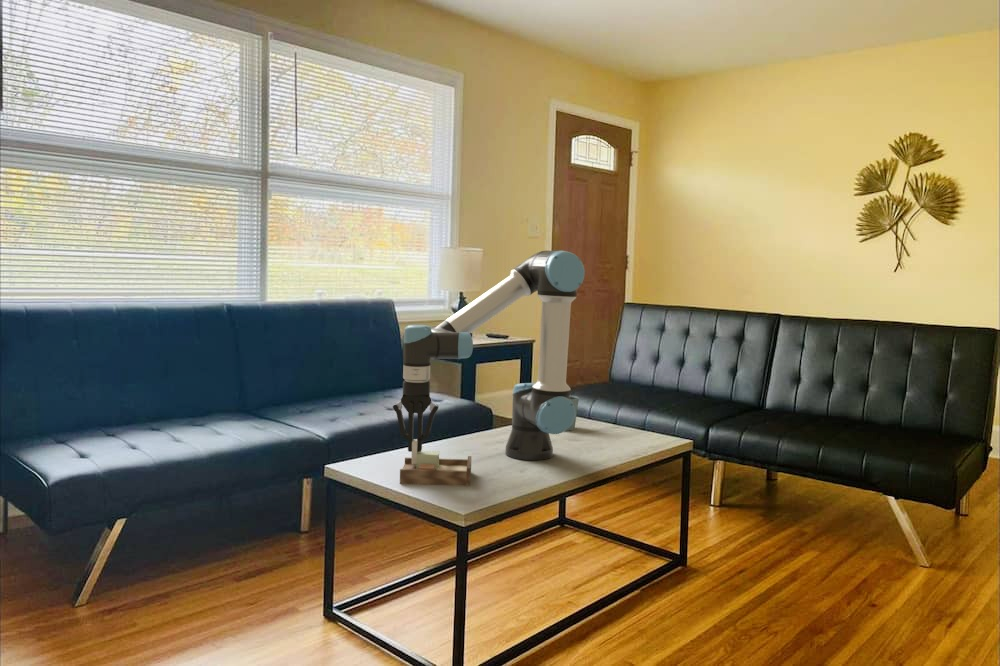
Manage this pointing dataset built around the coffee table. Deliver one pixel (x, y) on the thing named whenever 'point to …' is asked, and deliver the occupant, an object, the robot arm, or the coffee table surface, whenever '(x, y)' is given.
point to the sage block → (428, 458)
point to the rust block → (427, 467)
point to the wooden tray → (438, 473)
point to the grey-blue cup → (575, 402)
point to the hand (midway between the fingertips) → (414, 462)
